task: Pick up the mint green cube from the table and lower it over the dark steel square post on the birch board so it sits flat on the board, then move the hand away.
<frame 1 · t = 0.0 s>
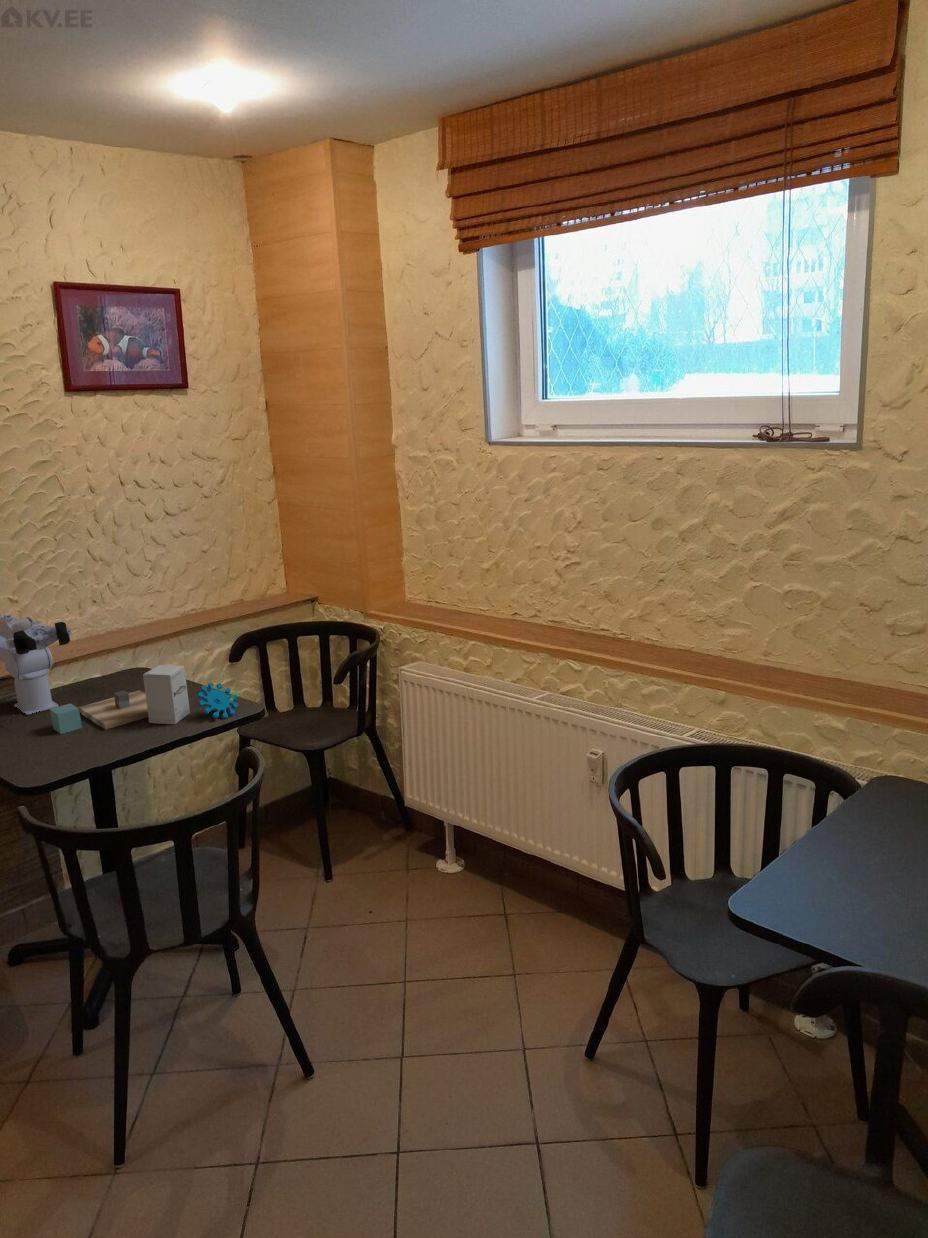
hand: (51, 641, 220), 22 cm above the table, tool horizontal, fingers open, 7 cm apart
supplement box: (170, 719, 229), on the table
post board: (123, 711, 234), on the table
gear: (221, 715, 230), on the table
mint green cube: (67, 728, 225), on the table
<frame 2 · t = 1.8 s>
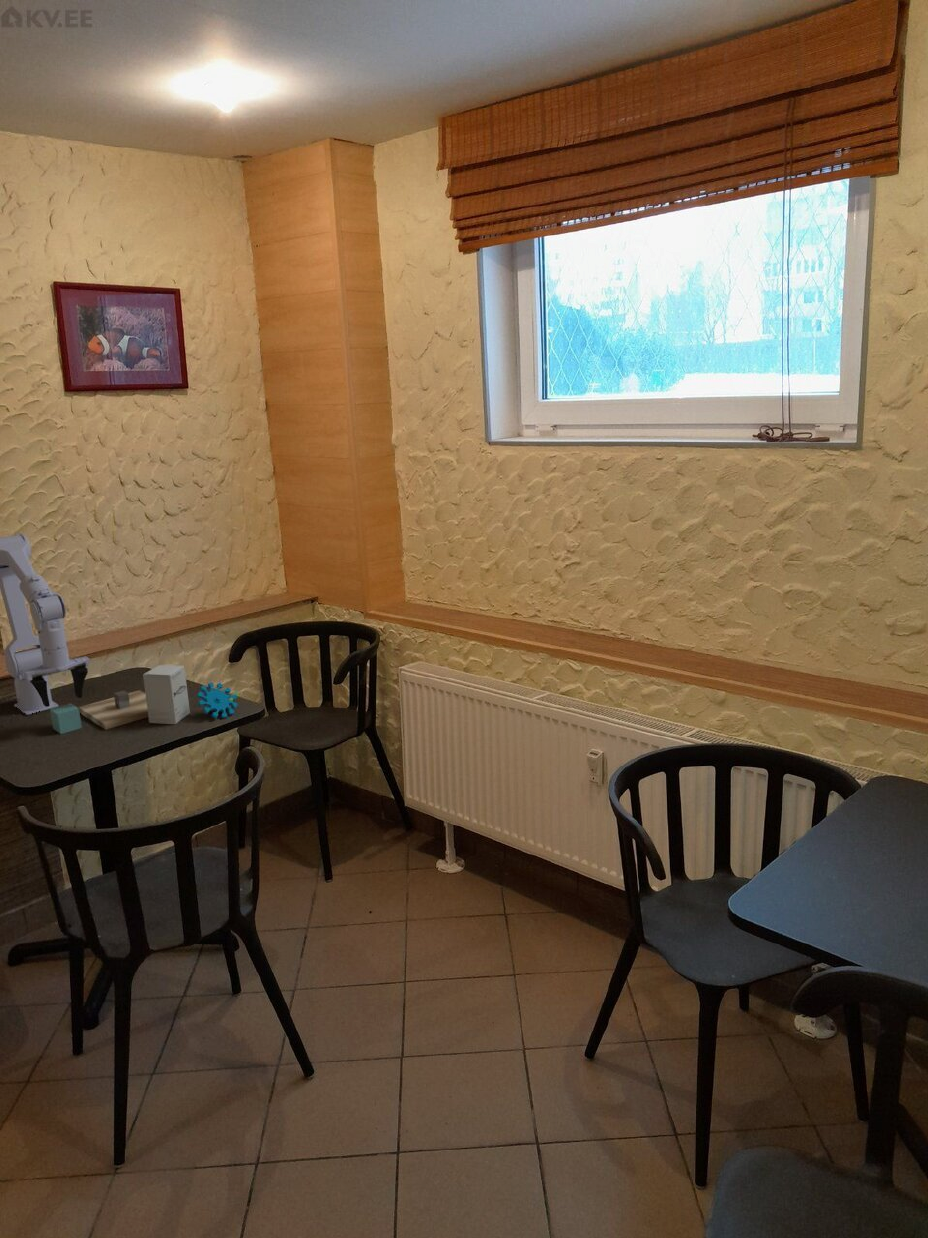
hand: (63, 701, 223), 7 cm above the table, tool pointing down, fingers open, 7 cm apart
nothing on the table moved.
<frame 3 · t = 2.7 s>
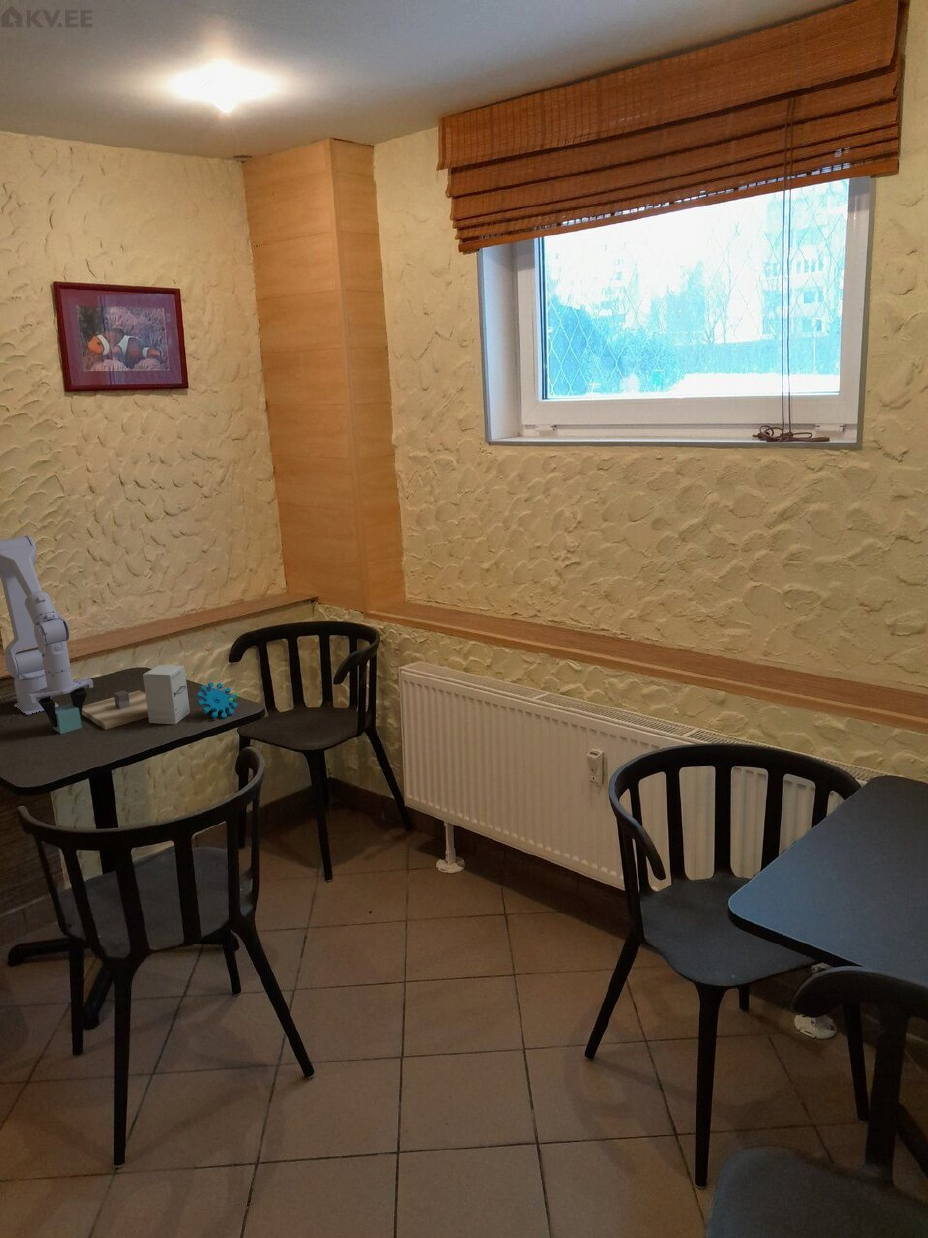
hand: (66, 722, 225), 1 cm above the table, tool pointing down, fingers closed on mint green cube, 5 cm apart
mint green cube: (67, 728, 225), on the table, touching gripper
everything else where it was.
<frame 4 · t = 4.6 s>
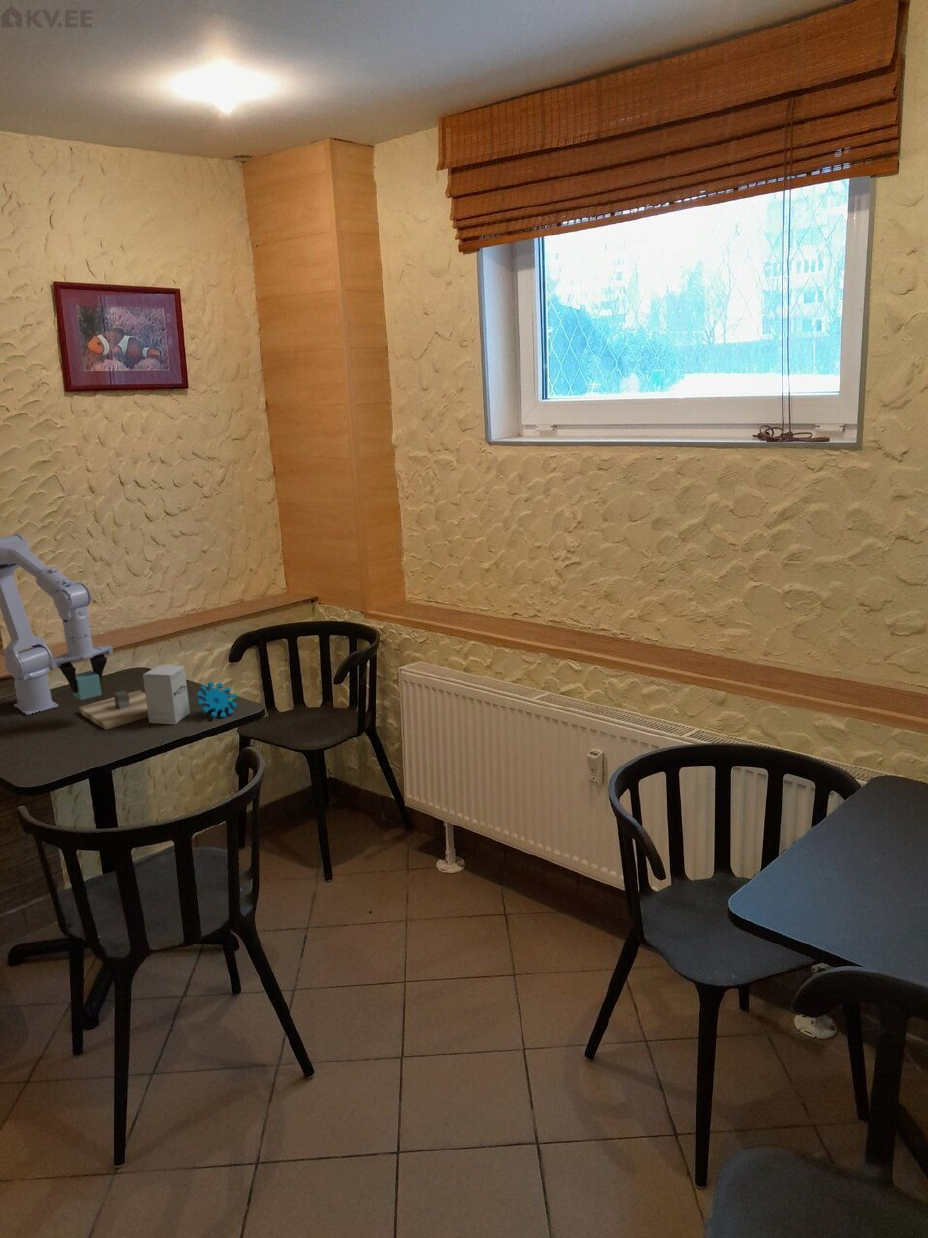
hand: (86, 688, 227), 8 cm above the table, tool pointing down, fingers closed on mint green cube, 5 cm apart
mint green cube: (87, 694, 227), point 7 cm above the table, touching gripper
everything else where it was.
when the fingers open (4 cm above the table, at t = 6.7 s): mint green cube stays where it is, resting on post board.
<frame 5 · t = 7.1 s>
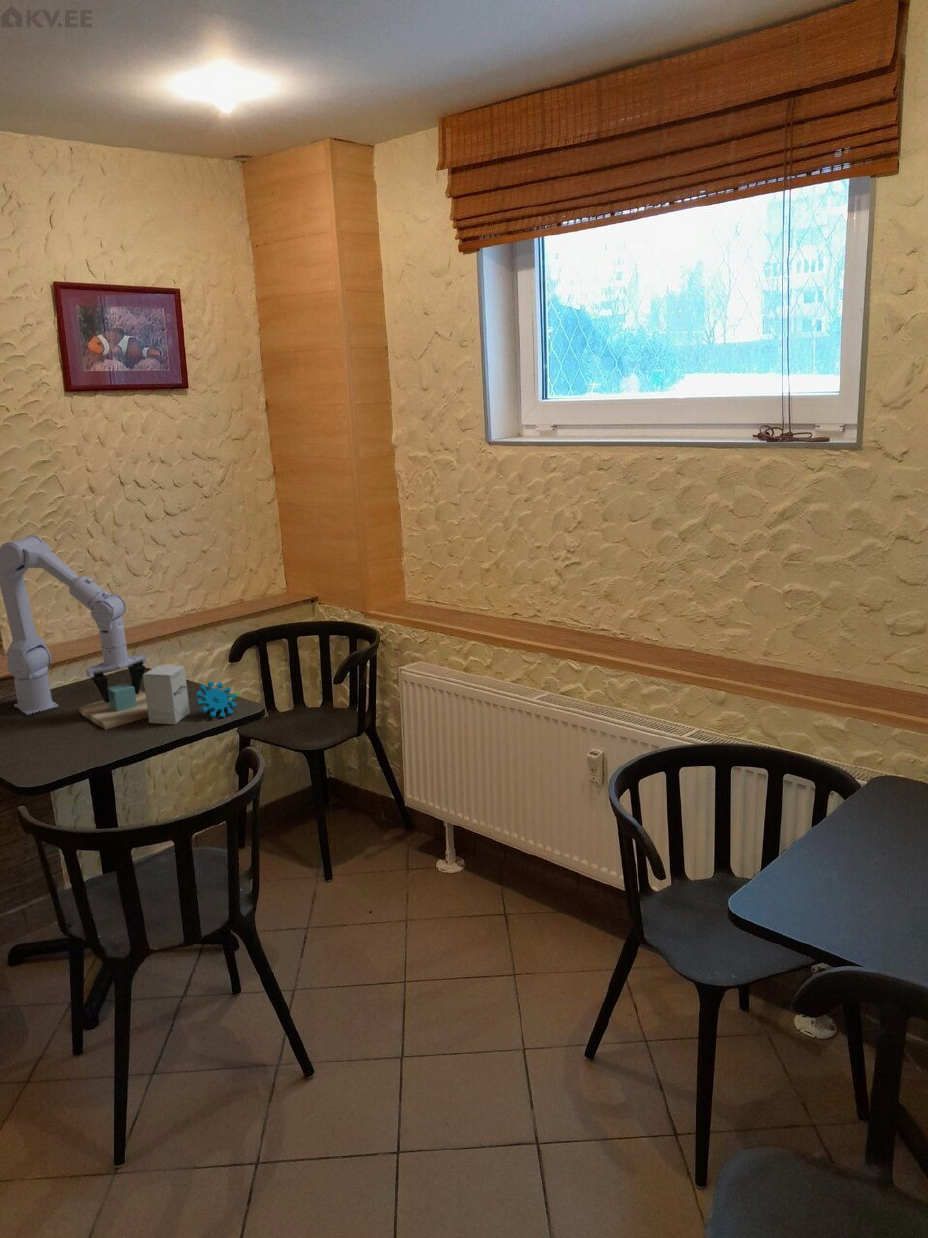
hand: (121, 697, 233), 4 cm above the table, tool pointing down, fingers open, 7 cm apart
mint green cube: (123, 706, 234), point 1 cm above the table, touching post board
everything else where it was.
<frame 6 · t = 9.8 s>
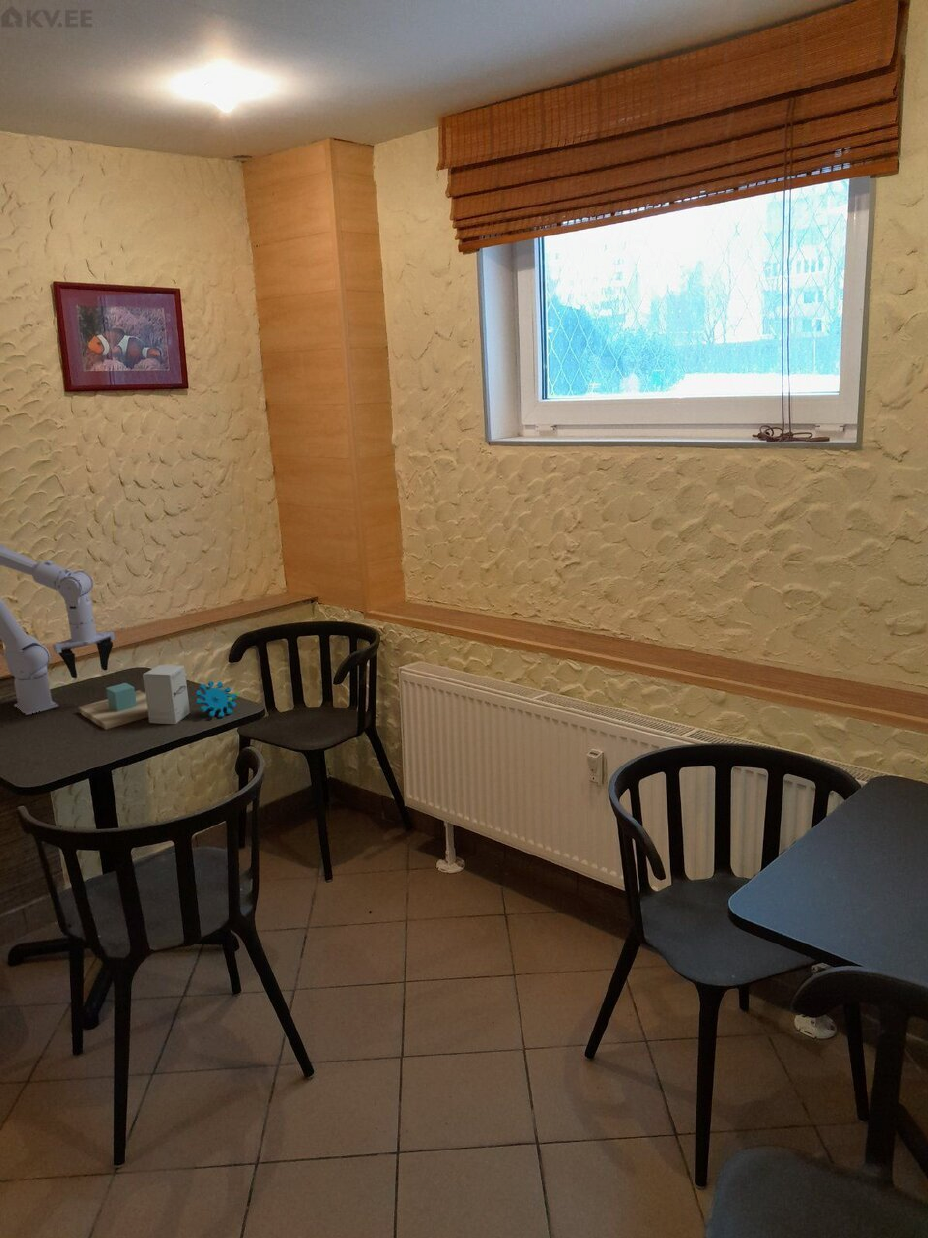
hand: (89, 673, 235), 9 cm above the table, tool pointing down, fingers open, 7 cm apart
at the end: mint green cube 0.1 cm off-centre on the post board, point 1.5 cm above the post board's base; mint green cube tilted 0°; the gripper is holding nothing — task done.
